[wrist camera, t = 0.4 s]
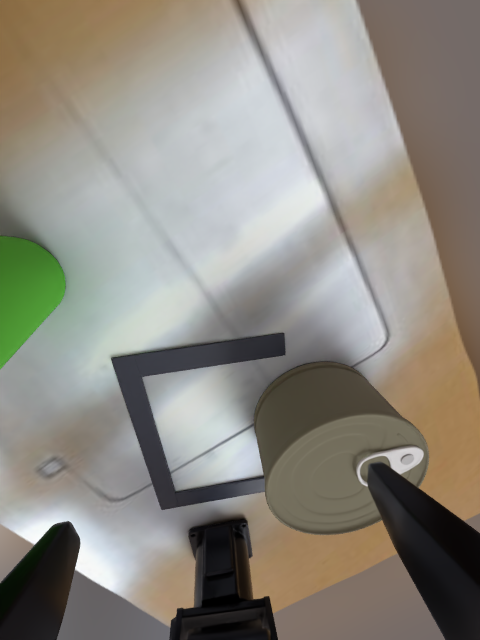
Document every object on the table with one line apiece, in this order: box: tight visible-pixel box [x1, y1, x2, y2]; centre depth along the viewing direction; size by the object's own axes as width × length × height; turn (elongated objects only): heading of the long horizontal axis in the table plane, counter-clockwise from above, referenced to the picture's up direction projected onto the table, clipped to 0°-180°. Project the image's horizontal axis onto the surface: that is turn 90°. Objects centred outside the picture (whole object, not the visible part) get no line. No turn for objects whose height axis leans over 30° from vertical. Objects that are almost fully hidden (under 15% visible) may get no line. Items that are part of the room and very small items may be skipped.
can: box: [254, 362, 429, 535], centre depth 22 cm, size 12×12×7 cm
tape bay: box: [111, 333, 285, 510], centre depth 25 cm, size 18×14×1 cm
